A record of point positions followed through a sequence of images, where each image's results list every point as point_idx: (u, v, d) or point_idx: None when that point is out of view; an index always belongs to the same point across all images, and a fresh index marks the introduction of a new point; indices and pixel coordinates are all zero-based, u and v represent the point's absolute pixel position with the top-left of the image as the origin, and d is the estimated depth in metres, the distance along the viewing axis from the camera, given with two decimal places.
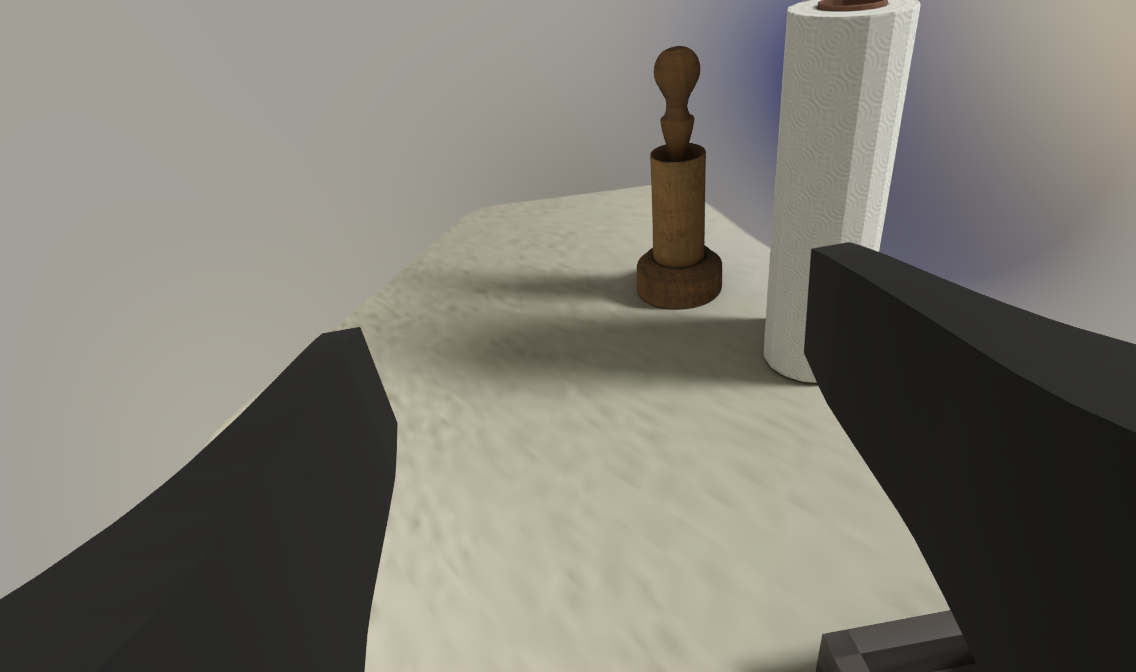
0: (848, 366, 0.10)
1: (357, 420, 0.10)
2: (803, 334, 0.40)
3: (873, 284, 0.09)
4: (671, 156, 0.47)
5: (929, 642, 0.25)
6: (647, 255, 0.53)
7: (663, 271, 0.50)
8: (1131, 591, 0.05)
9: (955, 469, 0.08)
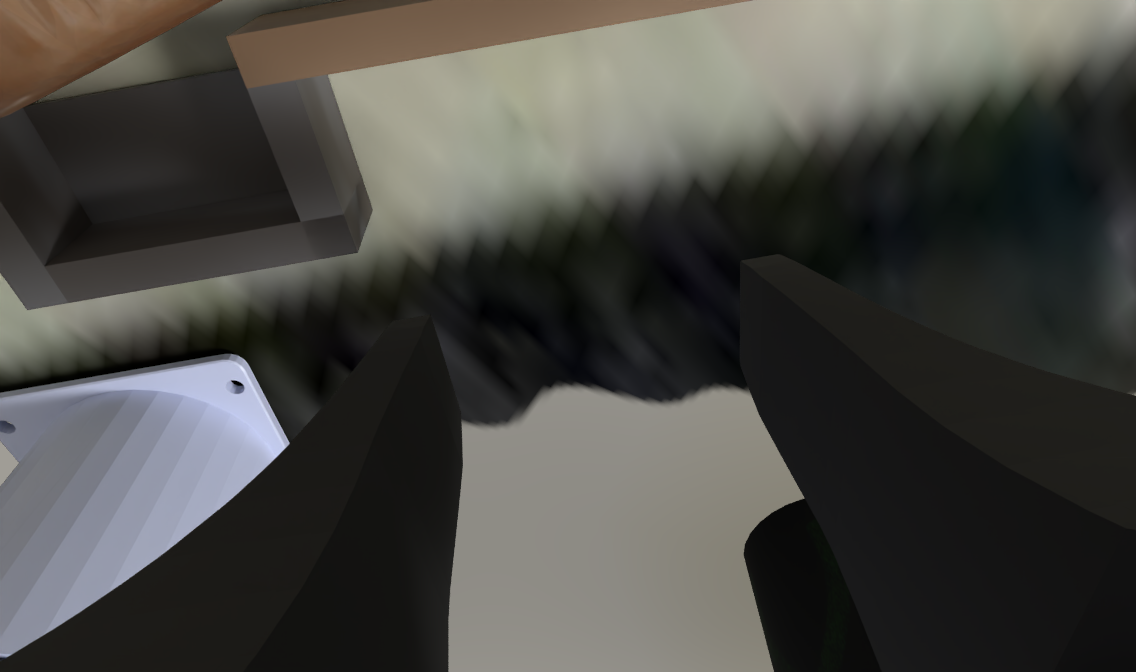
0: (773, 380, 0.10)
1: (433, 407, 0.10)
2: None
3: (789, 299, 0.09)
4: None
5: None
6: None
7: None
8: (996, 614, 0.05)
9: (860, 485, 0.08)
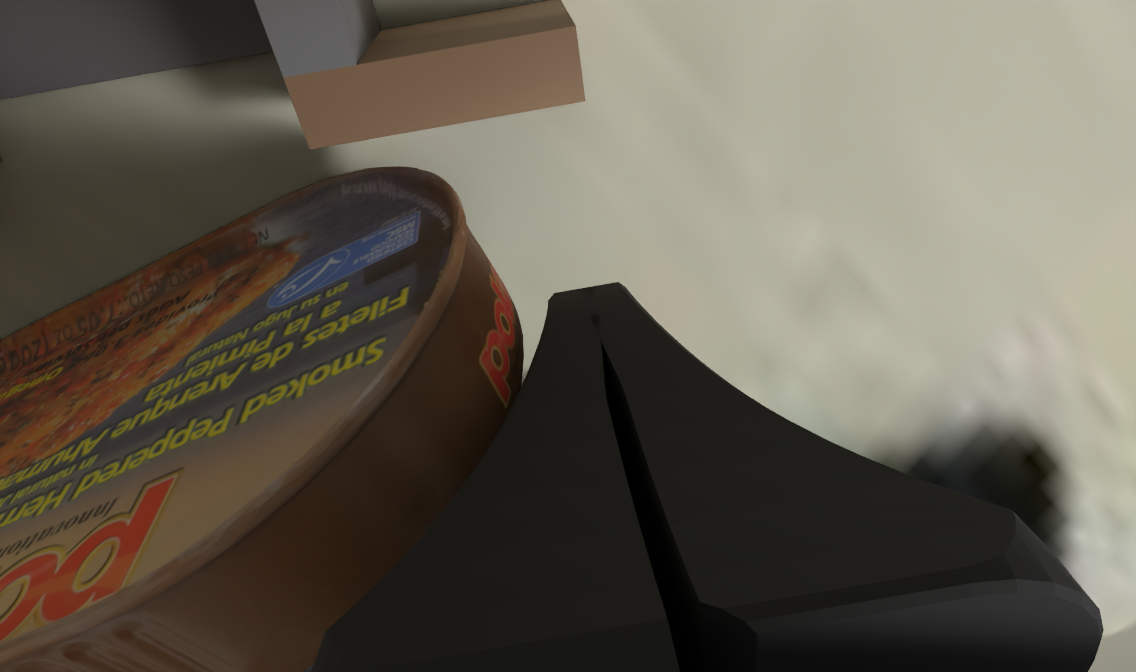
0: None
1: None
2: None
3: (599, 332, 0.09)
4: None
5: None
6: None
7: None
8: None
9: (644, 522, 0.08)
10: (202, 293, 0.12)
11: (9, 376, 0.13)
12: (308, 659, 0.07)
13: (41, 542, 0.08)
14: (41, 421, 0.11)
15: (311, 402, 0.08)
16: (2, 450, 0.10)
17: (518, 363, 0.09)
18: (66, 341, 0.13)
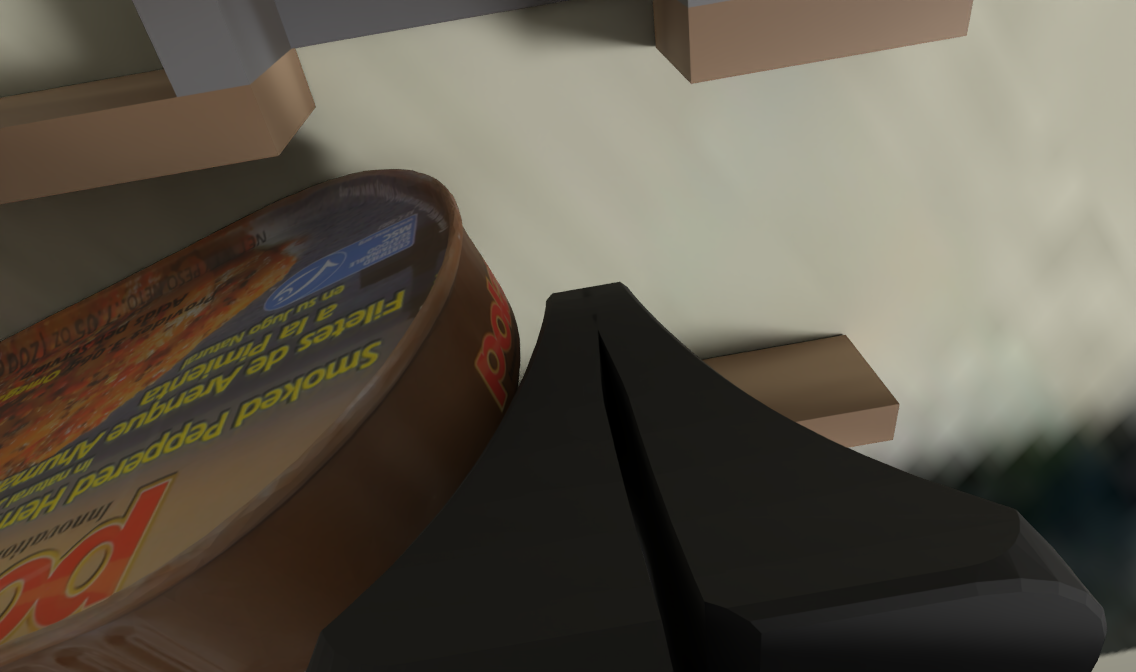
0: None
1: None
2: None
3: (601, 331, 0.09)
4: None
5: None
6: None
7: None
8: None
9: (647, 522, 0.08)
10: (199, 295, 0.12)
11: (7, 379, 0.13)
12: (303, 664, 0.07)
13: (36, 546, 0.08)
14: (38, 425, 0.11)
15: (306, 407, 0.08)
16: None
17: (514, 367, 0.09)
18: (64, 344, 0.13)
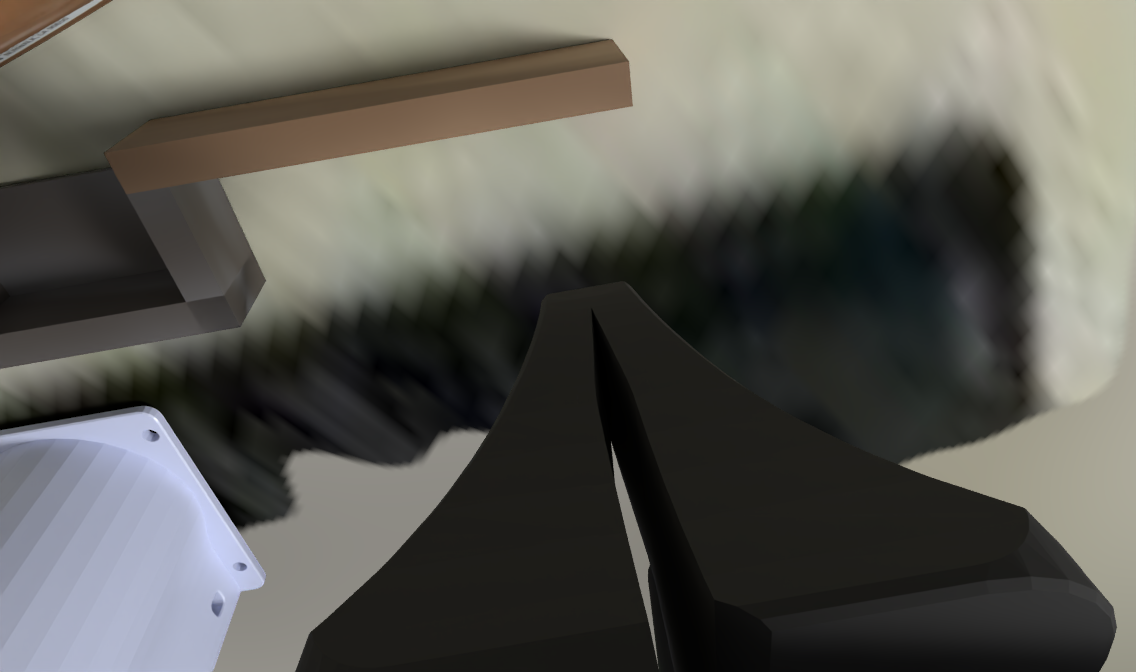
0: (610, 408, 0.10)
1: (600, 378, 0.10)
2: None
3: (605, 330, 0.09)
4: None
5: None
6: None
7: None
8: None
9: (652, 521, 0.08)
10: None
11: None
12: None
13: None
14: None
15: None
16: None
17: None
18: None
